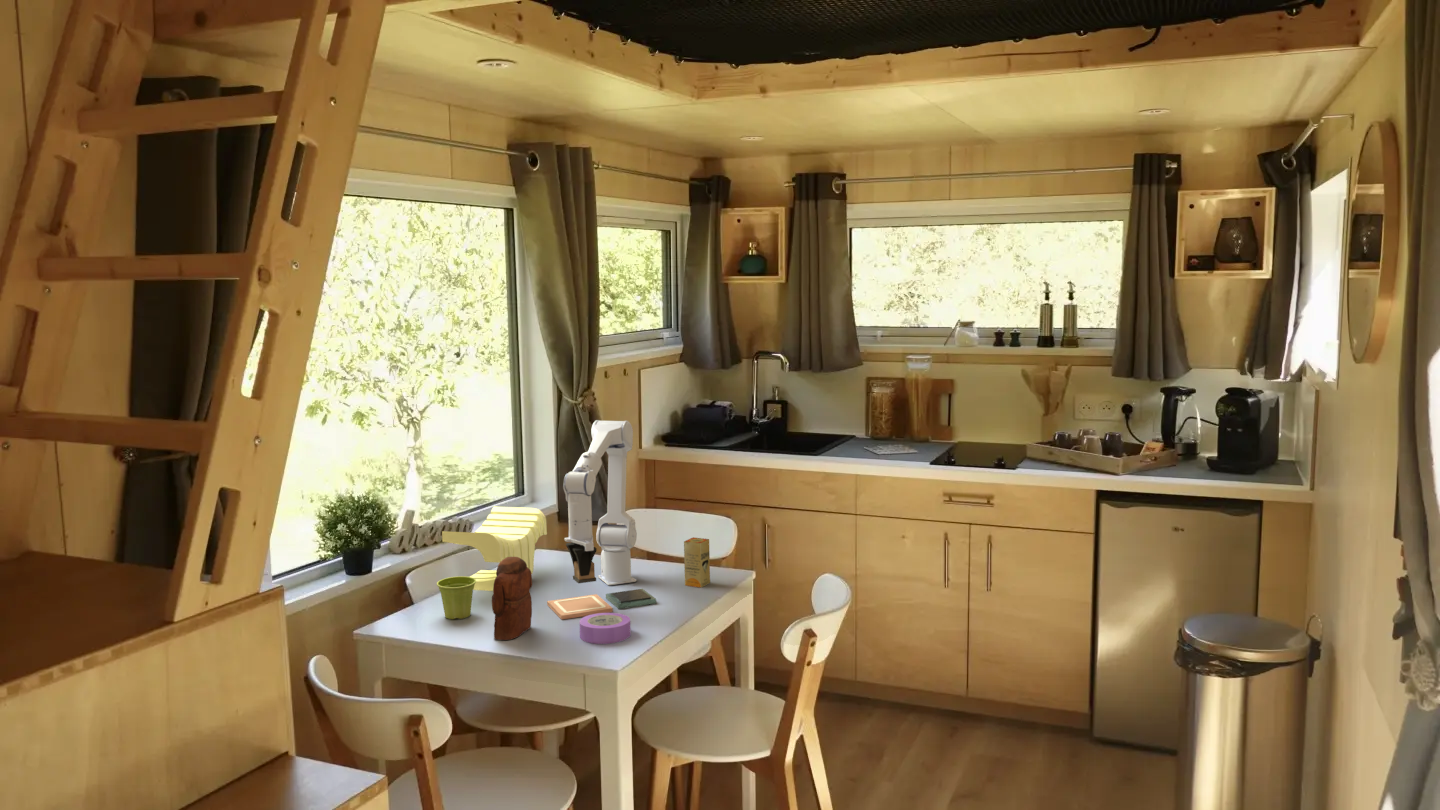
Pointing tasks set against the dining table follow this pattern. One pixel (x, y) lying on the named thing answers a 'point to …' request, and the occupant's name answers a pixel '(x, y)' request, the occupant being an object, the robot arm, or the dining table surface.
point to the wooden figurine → (512, 599)
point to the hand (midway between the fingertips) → (581, 573)
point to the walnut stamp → (586, 578)
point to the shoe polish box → (697, 562)
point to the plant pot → (457, 596)
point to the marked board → (579, 606)
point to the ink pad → (630, 598)
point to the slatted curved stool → (503, 539)
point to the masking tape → (605, 628)
